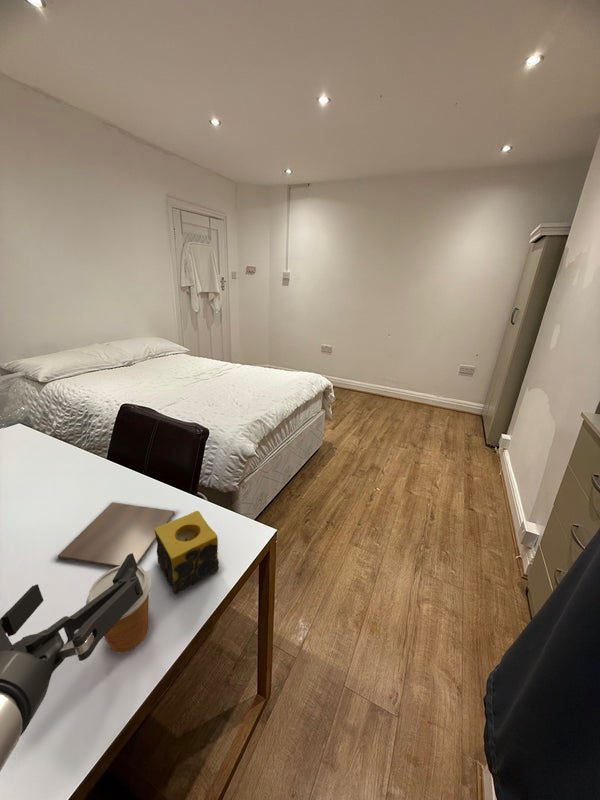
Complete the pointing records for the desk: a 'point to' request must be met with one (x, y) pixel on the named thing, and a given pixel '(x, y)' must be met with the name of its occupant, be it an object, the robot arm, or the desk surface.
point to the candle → (186, 551)
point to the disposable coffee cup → (134, 620)
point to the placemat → (117, 535)
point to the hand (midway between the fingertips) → (86, 576)
